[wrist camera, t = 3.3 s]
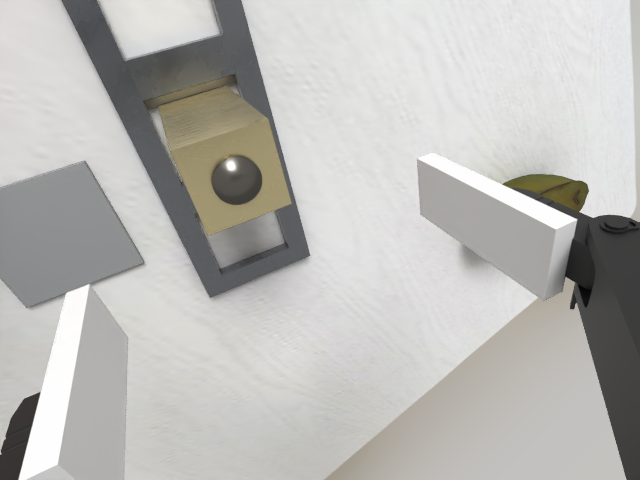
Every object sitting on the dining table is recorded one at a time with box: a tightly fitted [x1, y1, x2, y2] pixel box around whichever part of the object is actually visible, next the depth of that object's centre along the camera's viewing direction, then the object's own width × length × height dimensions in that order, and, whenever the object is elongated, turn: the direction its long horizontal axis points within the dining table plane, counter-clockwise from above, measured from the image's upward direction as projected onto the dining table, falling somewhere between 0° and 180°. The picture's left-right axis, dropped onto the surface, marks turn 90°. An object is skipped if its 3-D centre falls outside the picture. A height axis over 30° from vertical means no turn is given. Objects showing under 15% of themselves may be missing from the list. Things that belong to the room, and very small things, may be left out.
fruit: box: [502, 174, 589, 212], centre depth 44 cm, size 11×12×7 cm
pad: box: [0, 161, 144, 308], centre depth 28 cm, size 9×9×1 cm
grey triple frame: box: [62, 0, 310, 298], centre depth 29 cm, size 10×28×1 cm, turn 12°
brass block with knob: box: [158, 86, 292, 236], centre depth 25 cm, size 5×5×11 cm
